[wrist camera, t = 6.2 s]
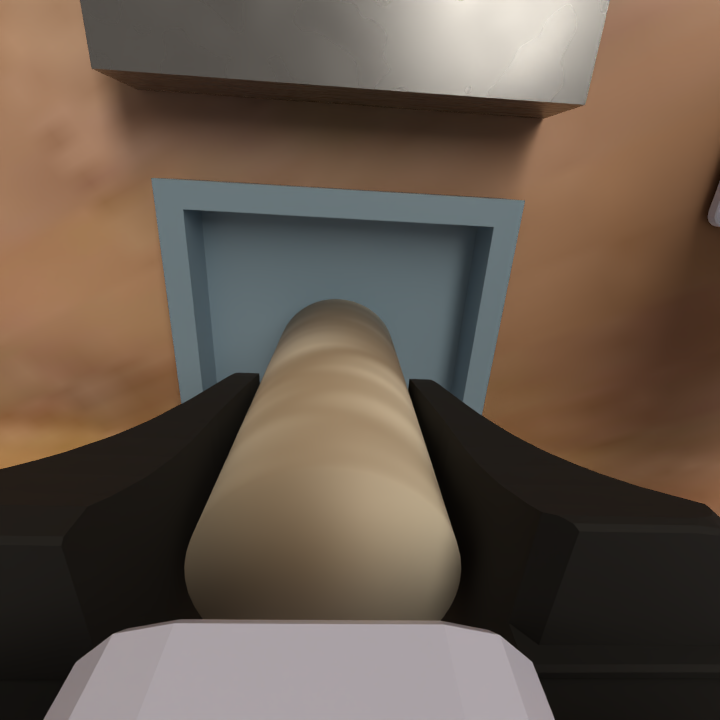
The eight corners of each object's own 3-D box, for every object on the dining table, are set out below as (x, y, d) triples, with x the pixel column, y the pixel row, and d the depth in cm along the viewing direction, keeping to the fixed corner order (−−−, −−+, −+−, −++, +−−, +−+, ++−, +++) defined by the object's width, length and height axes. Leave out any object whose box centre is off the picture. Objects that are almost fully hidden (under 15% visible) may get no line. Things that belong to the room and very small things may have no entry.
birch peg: (398, 301, 14) (482, 472, 5) (388, 407, 15) (441, 668, 7) (277, 295, 13) (167, 464, 5) (280, 403, 15) (198, 669, 7)
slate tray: (499, 198, 14) (524, 200, 12) (453, 456, 19) (466, 489, 17) (179, 178, 14) (151, 178, 12) (209, 449, 18) (192, 483, 16)
